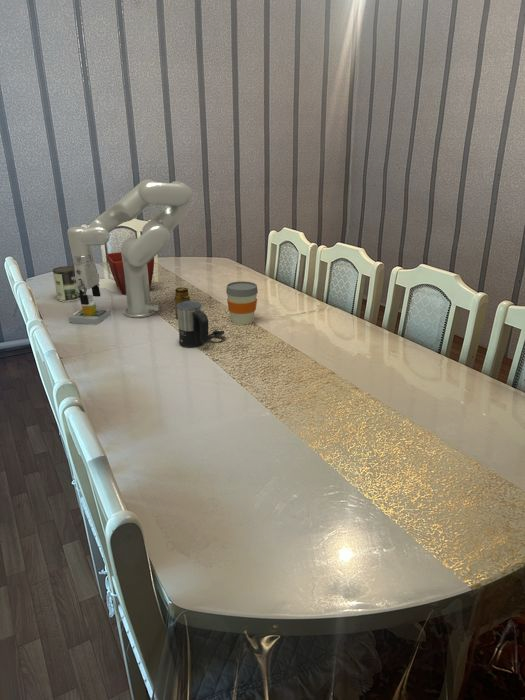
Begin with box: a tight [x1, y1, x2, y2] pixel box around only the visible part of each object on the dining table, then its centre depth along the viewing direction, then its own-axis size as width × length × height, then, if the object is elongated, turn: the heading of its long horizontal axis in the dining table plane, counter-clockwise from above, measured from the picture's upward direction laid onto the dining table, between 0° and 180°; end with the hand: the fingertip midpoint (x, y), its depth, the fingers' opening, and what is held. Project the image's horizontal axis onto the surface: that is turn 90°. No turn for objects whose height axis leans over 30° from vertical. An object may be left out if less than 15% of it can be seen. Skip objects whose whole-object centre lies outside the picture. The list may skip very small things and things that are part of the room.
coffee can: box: [52, 265, 80, 303], centre depth 236 cm, size 10×10×14 cm
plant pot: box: [106, 251, 155, 295], centre depth 248 cm, size 19×19×17 cm
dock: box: [68, 308, 111, 325], centre depth 213 cm, size 12×12×3 cm
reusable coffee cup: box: [225, 280, 259, 325], centre depth 208 cm, size 13×12×15 cm
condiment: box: [171, 287, 191, 320], centre depth 213 cm, size 7×8×12 cm
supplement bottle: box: [81, 294, 97, 316], centre depth 212 cm, size 5×5×10 cm
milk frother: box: [176, 300, 225, 348], centre depth 189 cm, size 14×16×15 cm
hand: (91, 300), depth 211 cm, fingers open, 9 cm apart
